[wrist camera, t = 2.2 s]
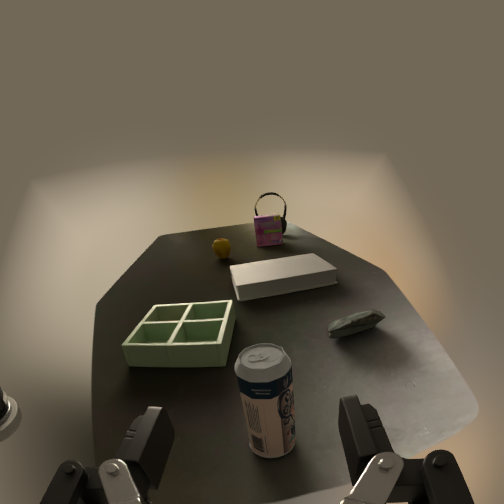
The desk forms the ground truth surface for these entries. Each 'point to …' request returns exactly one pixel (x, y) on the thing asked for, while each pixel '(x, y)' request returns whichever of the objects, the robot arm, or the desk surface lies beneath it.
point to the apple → (221, 247)
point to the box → (268, 230)
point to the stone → (354, 323)
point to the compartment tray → (182, 336)
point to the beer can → (267, 399)
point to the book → (281, 276)
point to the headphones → (283, 222)
